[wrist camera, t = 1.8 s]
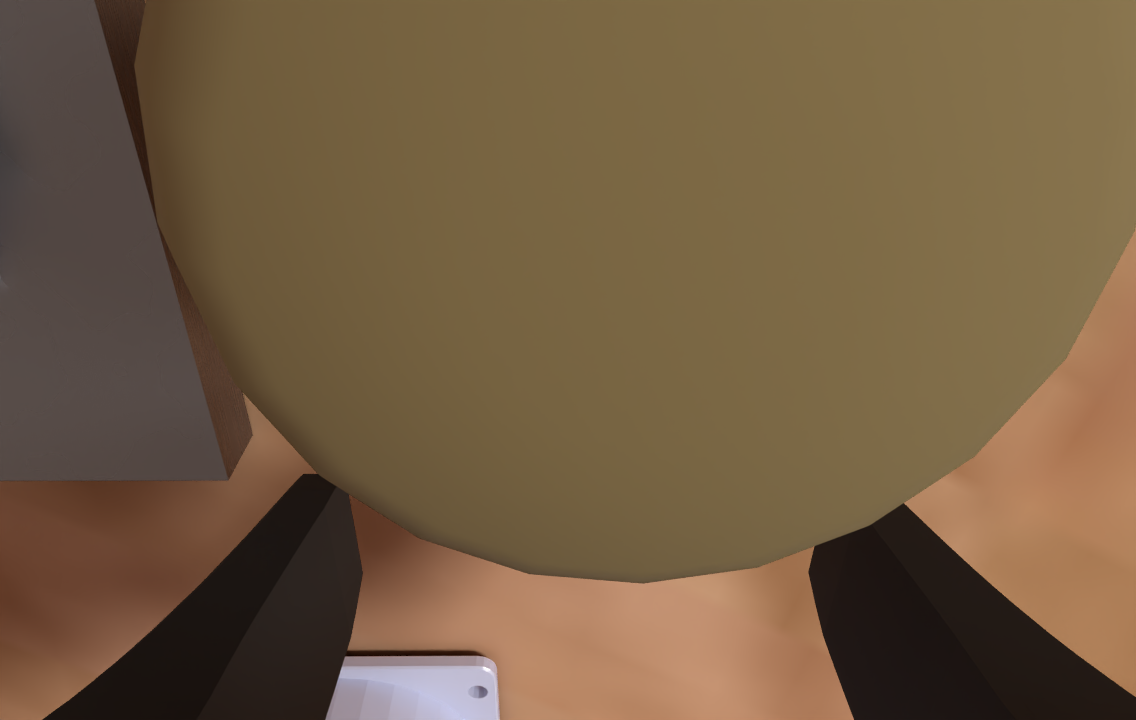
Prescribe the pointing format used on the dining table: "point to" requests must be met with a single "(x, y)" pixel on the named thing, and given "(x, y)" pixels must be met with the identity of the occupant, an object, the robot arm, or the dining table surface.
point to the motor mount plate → (95, 270)
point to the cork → (640, 251)
